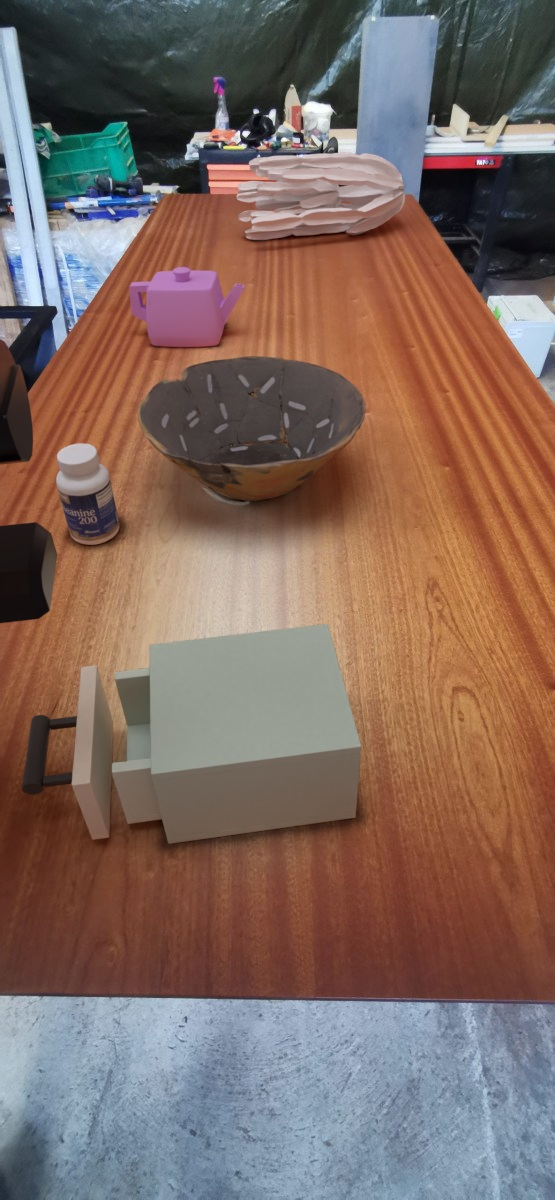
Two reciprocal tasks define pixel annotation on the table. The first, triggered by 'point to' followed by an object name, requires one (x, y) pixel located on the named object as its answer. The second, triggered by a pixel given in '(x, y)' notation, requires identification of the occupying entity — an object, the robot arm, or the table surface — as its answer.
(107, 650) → the table surface
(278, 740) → the cabinet
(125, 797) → the drawer
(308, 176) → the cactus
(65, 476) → the pill bottle
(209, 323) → the teapot
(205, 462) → the bowl
